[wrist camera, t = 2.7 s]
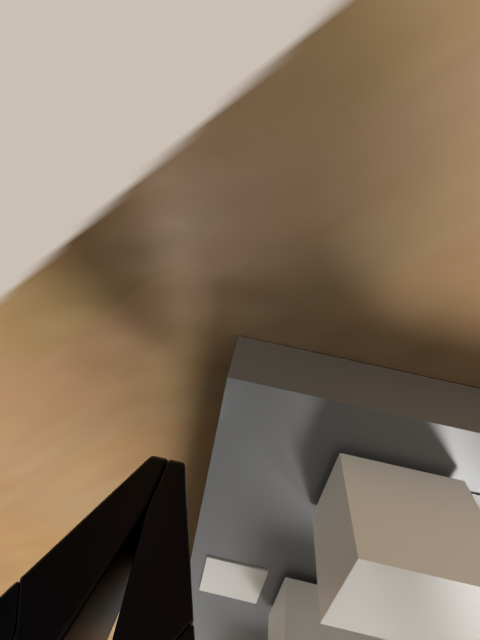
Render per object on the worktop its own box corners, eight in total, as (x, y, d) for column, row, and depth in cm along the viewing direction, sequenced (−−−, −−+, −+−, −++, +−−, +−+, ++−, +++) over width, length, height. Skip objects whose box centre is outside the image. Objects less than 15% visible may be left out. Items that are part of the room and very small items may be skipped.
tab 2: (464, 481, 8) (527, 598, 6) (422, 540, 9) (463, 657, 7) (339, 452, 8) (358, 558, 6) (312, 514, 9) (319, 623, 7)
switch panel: (745, 446, 9) (856, 518, 7) (465, 684, 17) (487, 750, 15) (238, 335, 10) (226, 378, 8) (181, 614, 17) (168, 671, 15)
